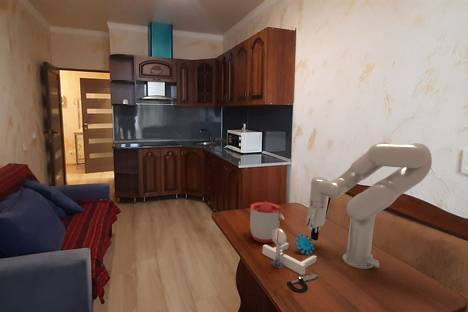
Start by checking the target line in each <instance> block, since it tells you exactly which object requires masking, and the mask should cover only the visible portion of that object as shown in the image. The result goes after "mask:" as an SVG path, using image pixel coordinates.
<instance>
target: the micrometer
mask: <svg viewBox="0 0 468 312" xmlns="http://www.w3.org/2000/svg"><path fill="white" fill-rule="evenodd" d="M318 277H319V274H318V273H311V274H306V275H302V276H301V275H300V276H298V277H296V278H295V280H291V281H287V282H286V285H287V286H288V287H289V289H290V291H292V292H294V293H297V294H298V293H299V294H302V293H303V294H304V293H306V292H308V290H309V286H308V284H307V283H306V282H310V281H311V280H312V281H313V280H315V279H317V278H318ZM295 283H297V284H299V285H301V287H302V288H297V287H296V286H295V285H294V284H295Z"/></svg>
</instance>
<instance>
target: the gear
mask: <svg viewBox="0 0 468 312" xmlns="http://www.w3.org/2000/svg"><path fill="white" fill-rule="evenodd" d="M304 236H305V237H304ZM307 238H308V239H307ZM294 240H295V243H294V245H295V246H297V247H296V249H297V251H299V250H300V253H301V254H305V255H306V256H308V255H309V254H313V251H314V250H315V247H314V246H315V245H316V244H317V243H316V242H315V241H314V242H312V241H313V239H311V237H310V238H309V235H308V234H306V235H305V234H304V233H301V234H297V237H295V239H294ZM305 251H306V252H305Z"/></svg>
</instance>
